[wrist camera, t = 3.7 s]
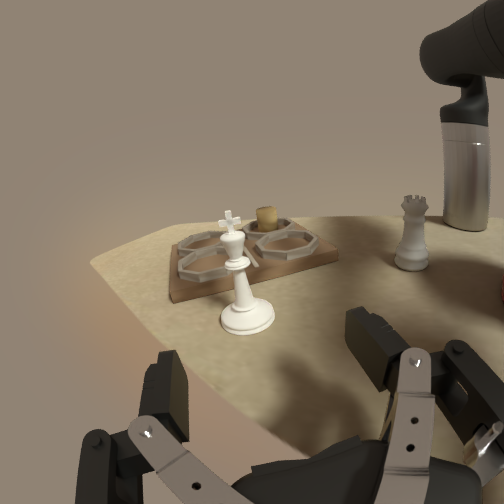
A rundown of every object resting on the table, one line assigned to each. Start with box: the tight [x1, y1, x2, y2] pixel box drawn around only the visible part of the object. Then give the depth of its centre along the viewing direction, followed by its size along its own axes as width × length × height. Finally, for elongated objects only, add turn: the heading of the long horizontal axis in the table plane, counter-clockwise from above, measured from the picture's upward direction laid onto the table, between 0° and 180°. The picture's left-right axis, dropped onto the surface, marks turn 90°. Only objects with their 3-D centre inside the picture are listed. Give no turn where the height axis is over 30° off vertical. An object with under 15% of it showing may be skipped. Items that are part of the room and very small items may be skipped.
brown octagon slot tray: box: [170, 206, 338, 304], centre depth 37 cm, size 20×16×5 cm
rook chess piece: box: [394, 195, 429, 272], centre depth 27 cm, size 4×4×8 cm
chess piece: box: [218, 210, 275, 335], centre depth 23 cm, size 5×5×10 cm
